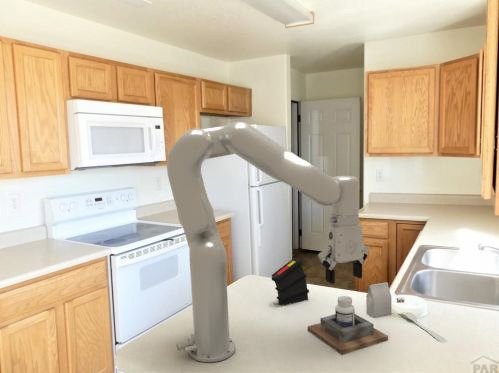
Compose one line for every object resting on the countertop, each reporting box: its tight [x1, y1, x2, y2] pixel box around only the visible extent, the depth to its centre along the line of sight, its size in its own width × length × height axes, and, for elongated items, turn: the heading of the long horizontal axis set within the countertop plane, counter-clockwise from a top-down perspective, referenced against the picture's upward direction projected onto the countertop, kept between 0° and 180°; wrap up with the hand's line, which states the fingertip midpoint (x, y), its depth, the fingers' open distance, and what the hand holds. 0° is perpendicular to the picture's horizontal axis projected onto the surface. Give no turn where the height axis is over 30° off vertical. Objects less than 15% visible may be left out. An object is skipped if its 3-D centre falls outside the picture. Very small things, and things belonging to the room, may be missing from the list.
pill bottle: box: [334, 295, 356, 328], centre depth 114 cm, size 5×5×10 cm
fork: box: [403, 312, 448, 344], centre depth 118 cm, size 3×21×3 cm, turn 15°
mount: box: [307, 313, 389, 356], centre depth 114 cm, size 16×16×4 cm
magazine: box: [270, 257, 310, 306], centre depth 140 cm, size 4×13×15 cm, turn 117°
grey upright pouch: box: [365, 281, 392, 319], centre depth 127 cm, size 4×7×10 cm, turn 109°
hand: (344, 279), depth 113 cm, fingers open, 9 cm apart
